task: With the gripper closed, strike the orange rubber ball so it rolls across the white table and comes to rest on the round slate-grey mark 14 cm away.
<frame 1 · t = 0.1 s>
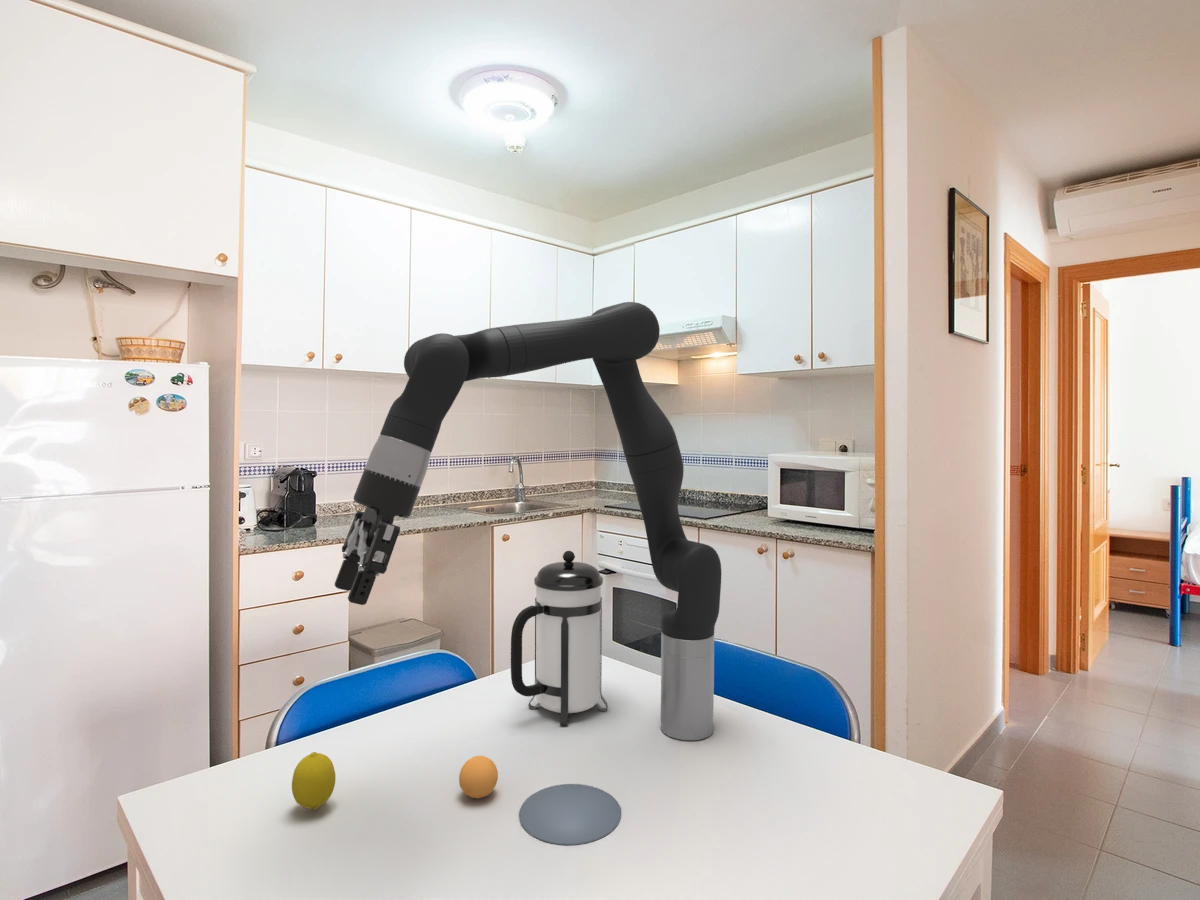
hand: (348, 595, 84), 31 cm above the table, tool tilted 20°, fingers open, 8 cm apart
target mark: (570, 812, 91), on the table
lemon: (314, 810, 91), on the table
coffee press: (564, 712, 123), on the table
ball: (478, 776, 95), on the table
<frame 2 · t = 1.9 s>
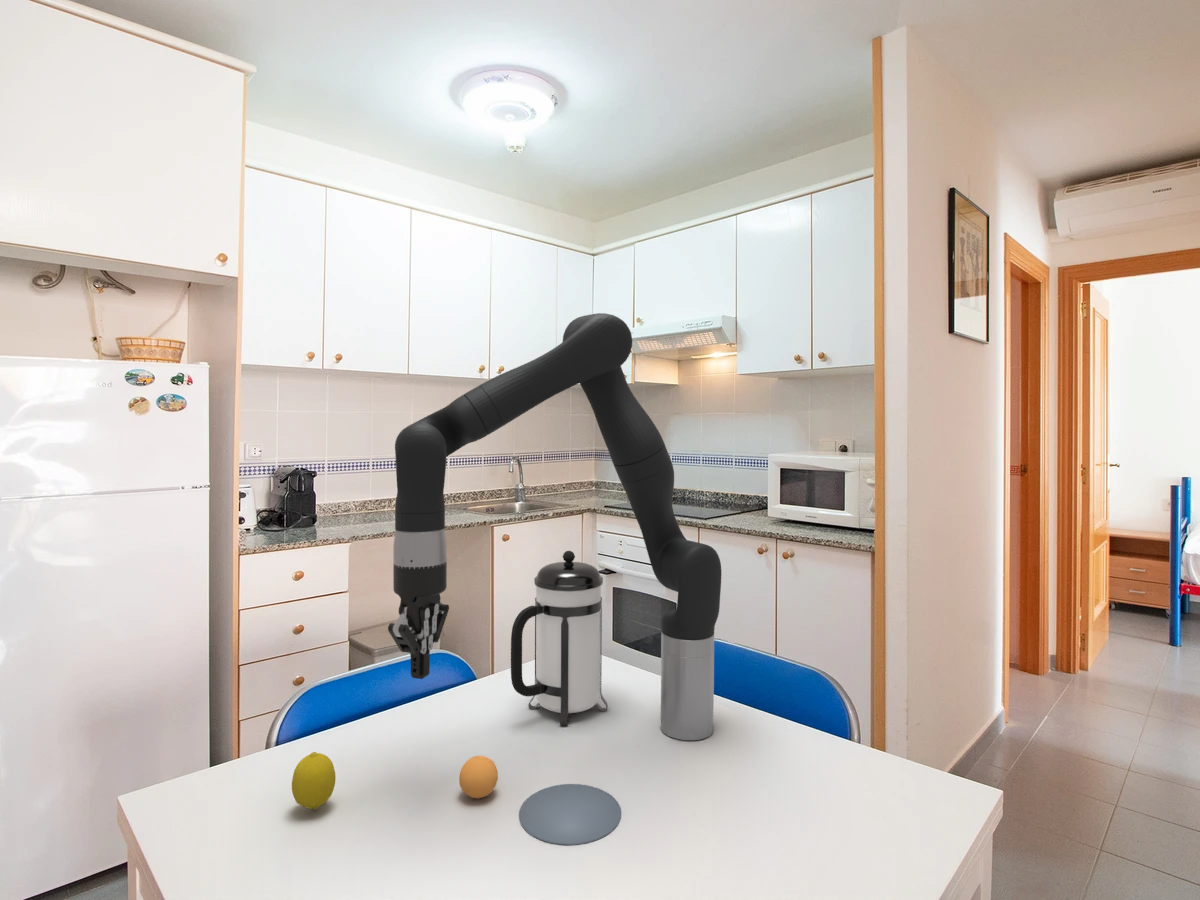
hand: (420, 676, 97), 16 cm above the table, tool pointing down, fingers closed
nothing on the table moved.
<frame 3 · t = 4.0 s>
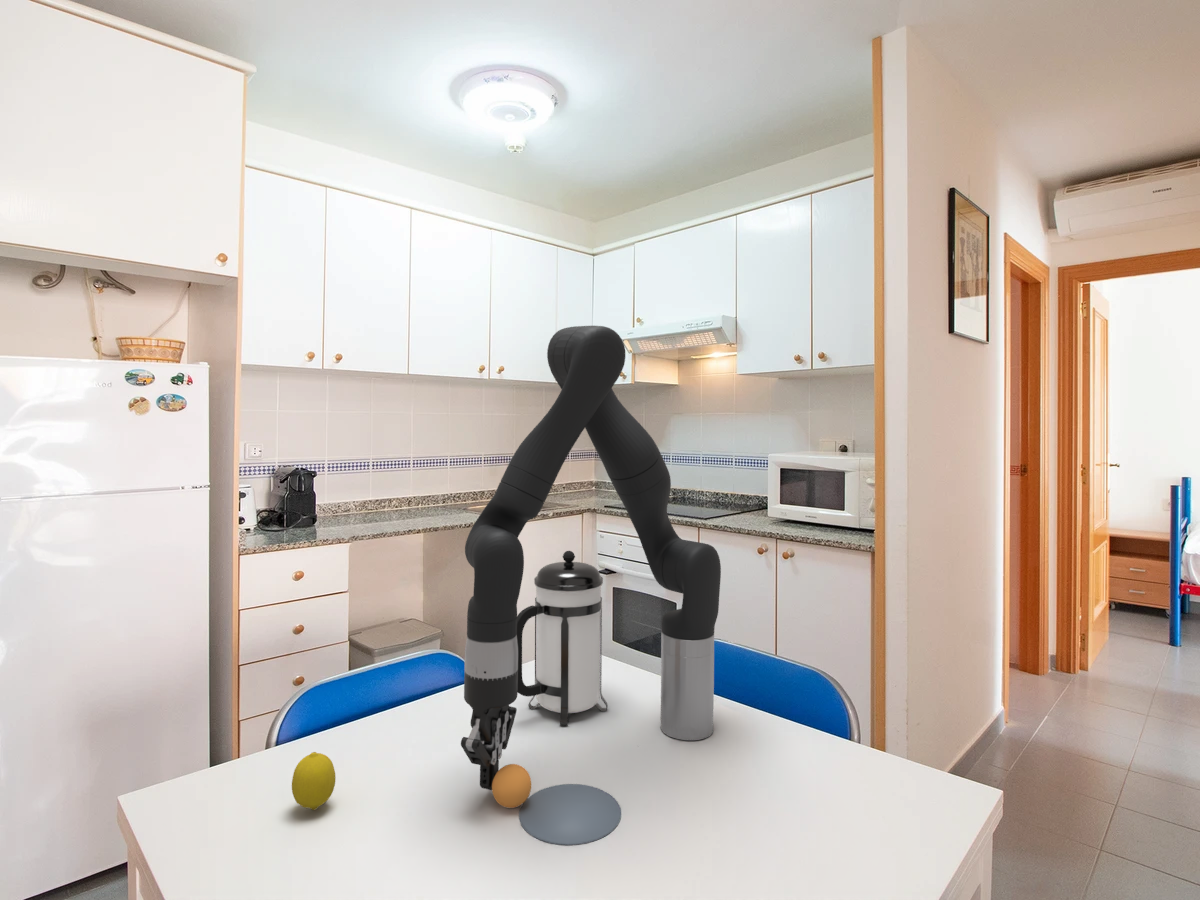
hand: (489, 786, 94), 2 cm above the table, tool pointing down, fingers closed
ball: (511, 785, 92), on the table, touching gripper
everything else where it was.
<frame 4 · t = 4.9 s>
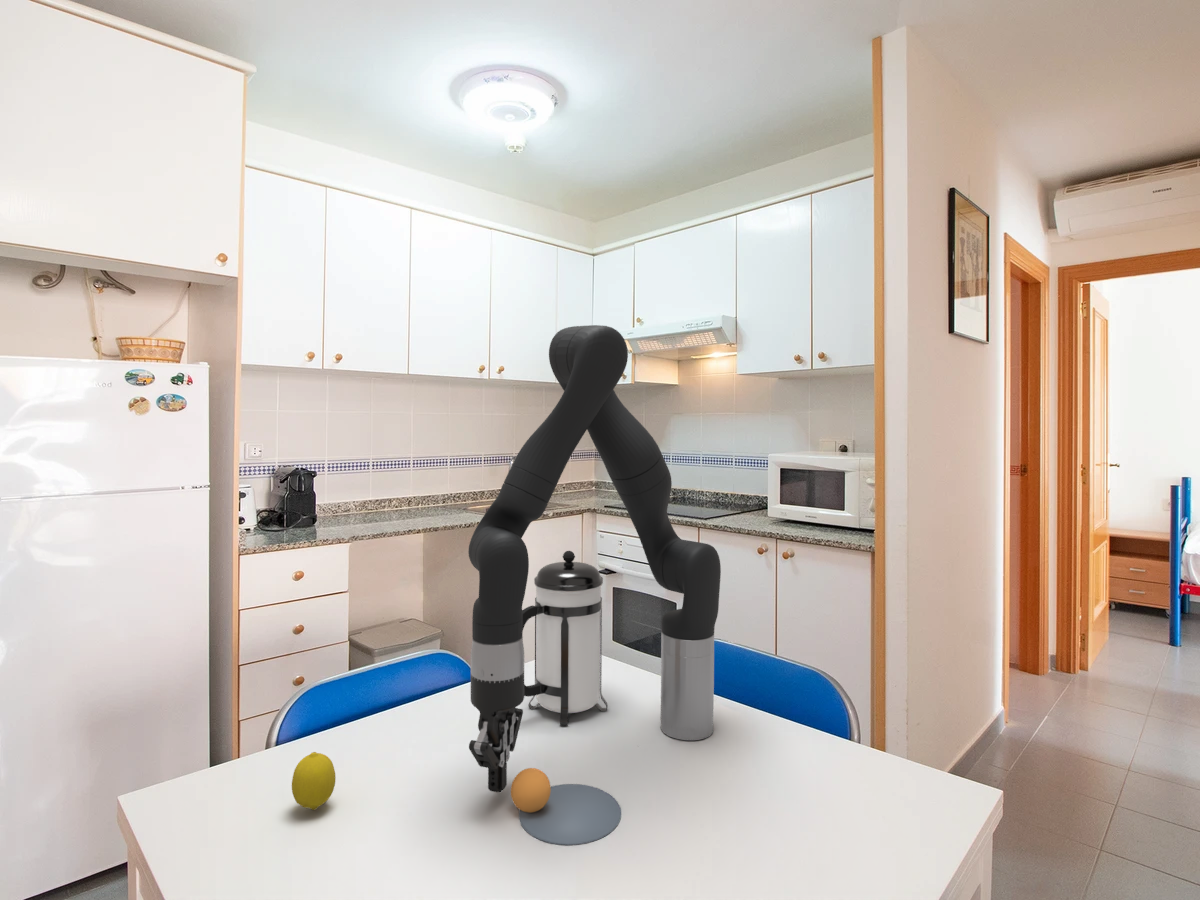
hand: (497, 788, 94), 2 cm above the table, tool pointing down, fingers closed
ball: (530, 790, 91), on the table
everything else where it was.
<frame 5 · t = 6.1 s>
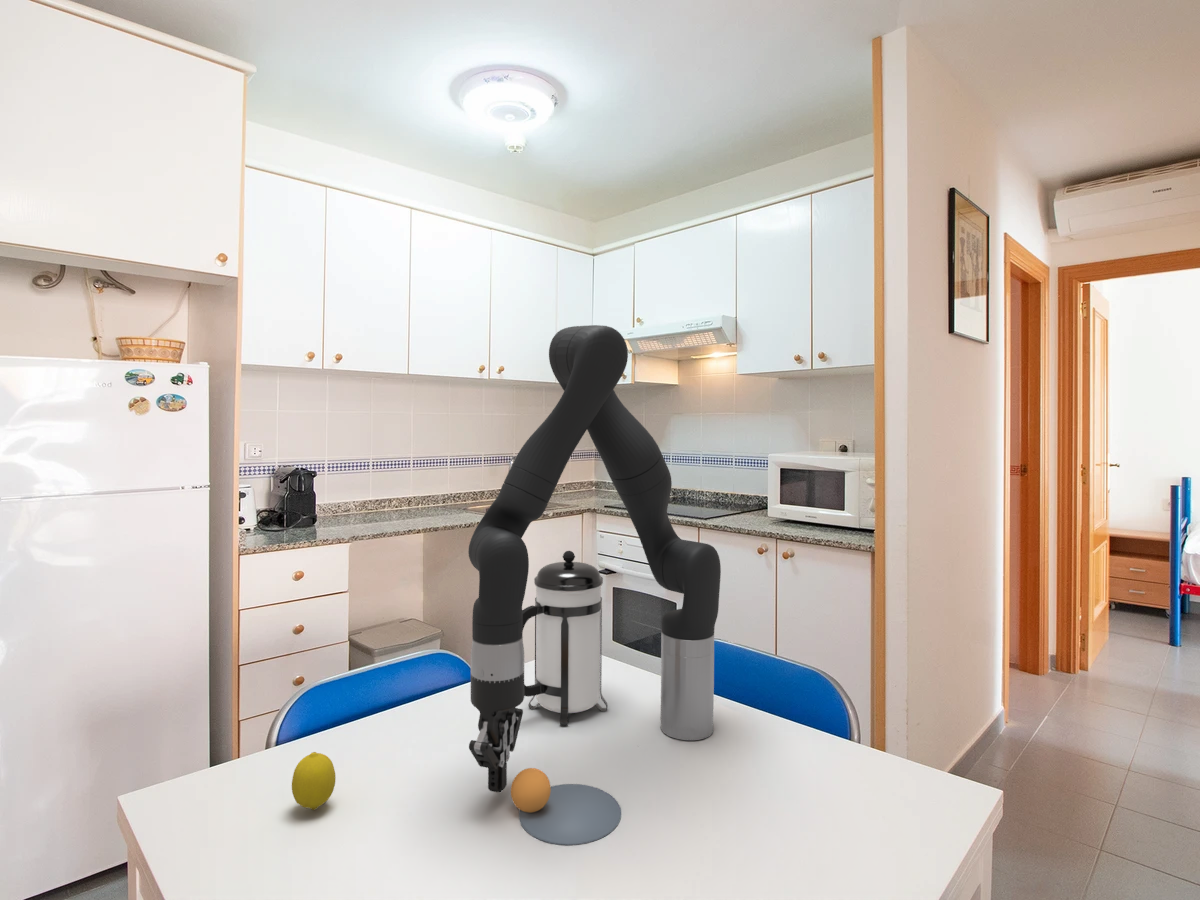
hand: (497, 788, 94), 2 cm above the table, tool pointing down, fingers closed
nothing on the table moved.
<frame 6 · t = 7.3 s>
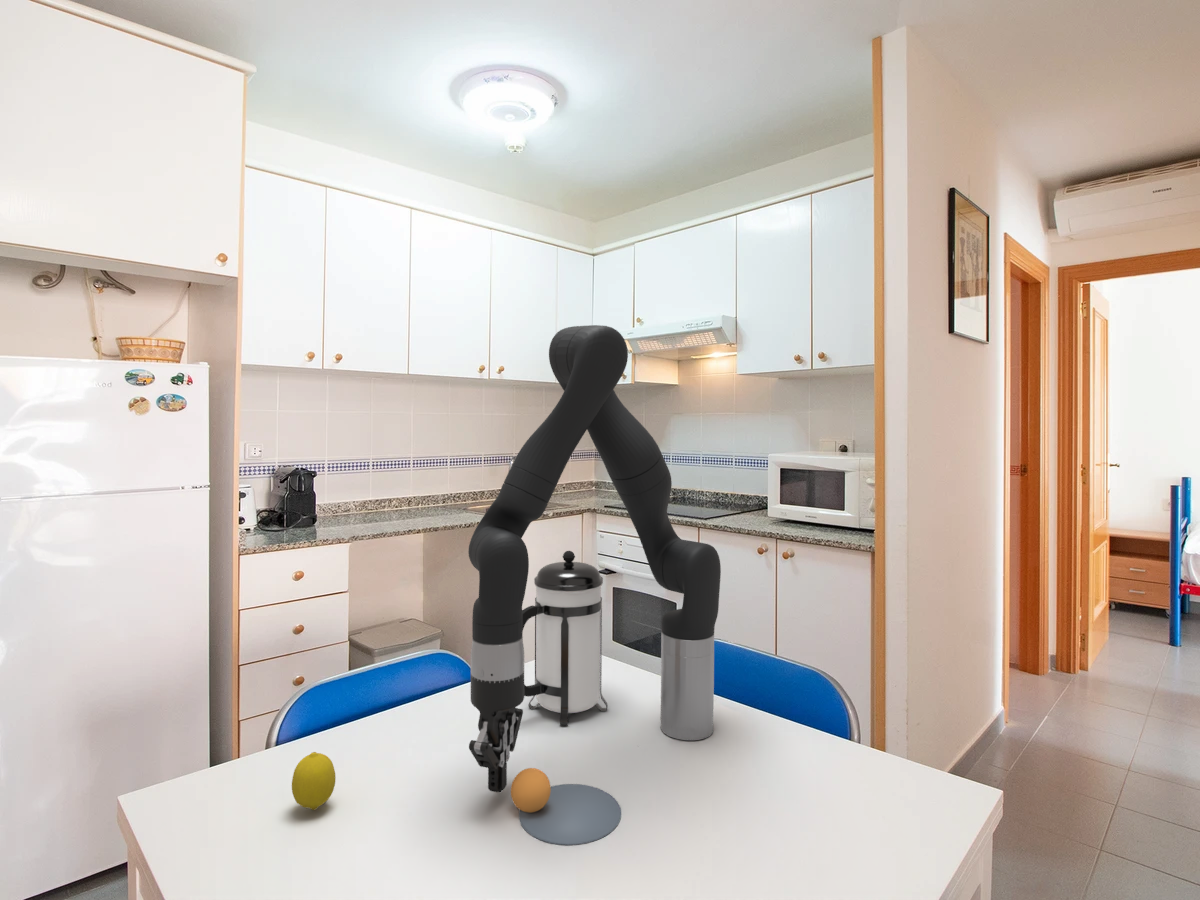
hand: (497, 788, 94), 2 cm above the table, tool pointing down, fingers closed
nothing on the table moved.
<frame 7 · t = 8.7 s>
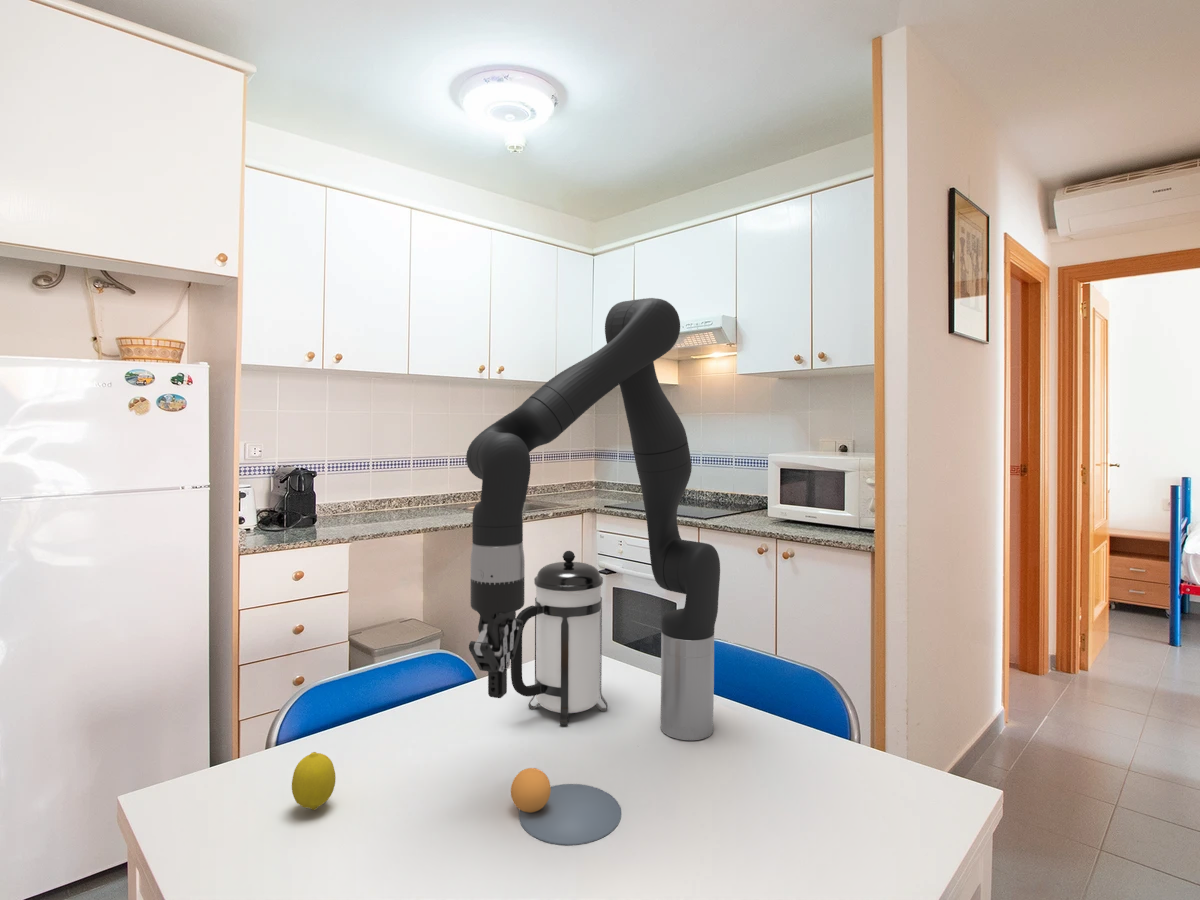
hand: (497, 695, 93), 15 cm above the table, tool pointing down, fingers closed
nothing on the table moved.
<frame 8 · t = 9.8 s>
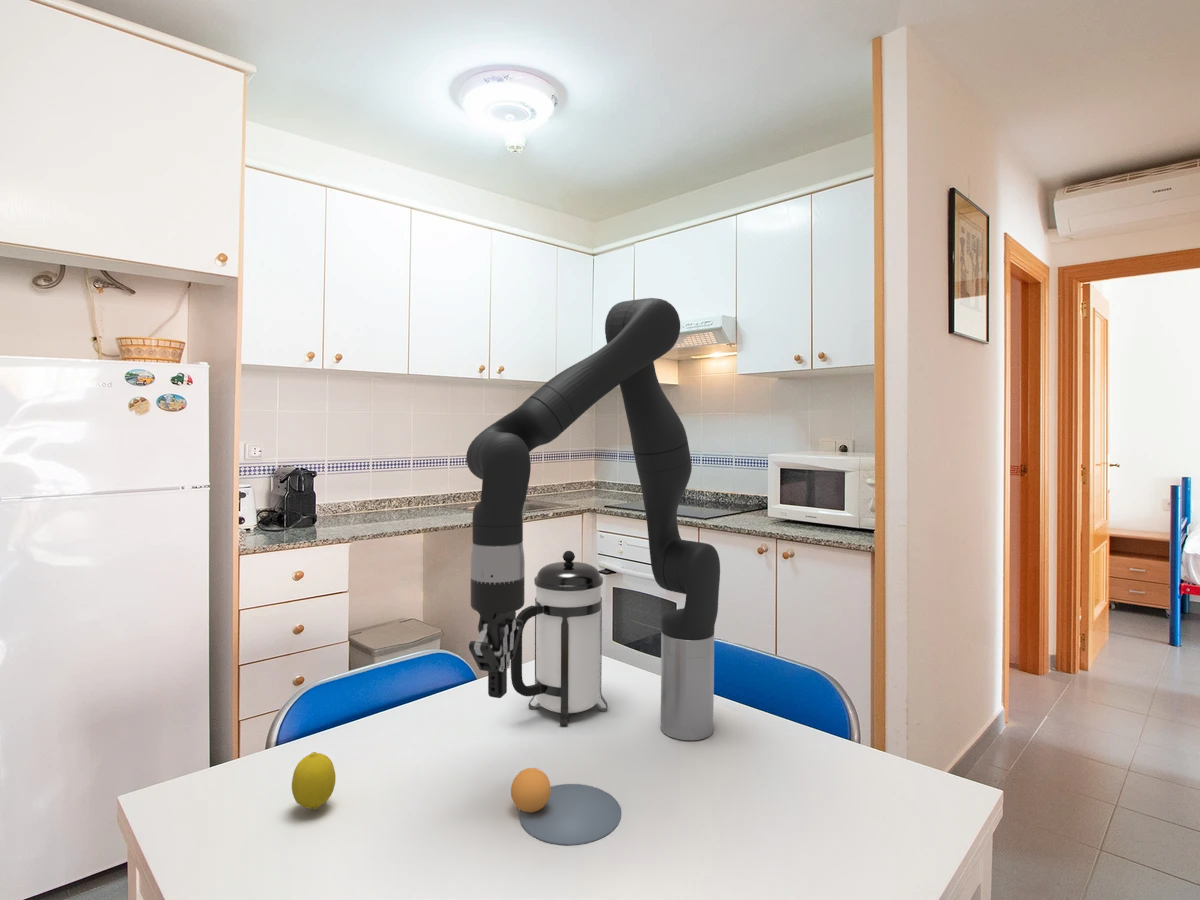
hand: (497, 695, 93), 15 cm above the table, tool pointing down, fingers closed
nothing on the table moved.
at the end: ball 5.6 cm from the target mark (horizontally); ball at rest at the end (0.0 cm/s); ball moved 8.6 cm from its start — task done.
